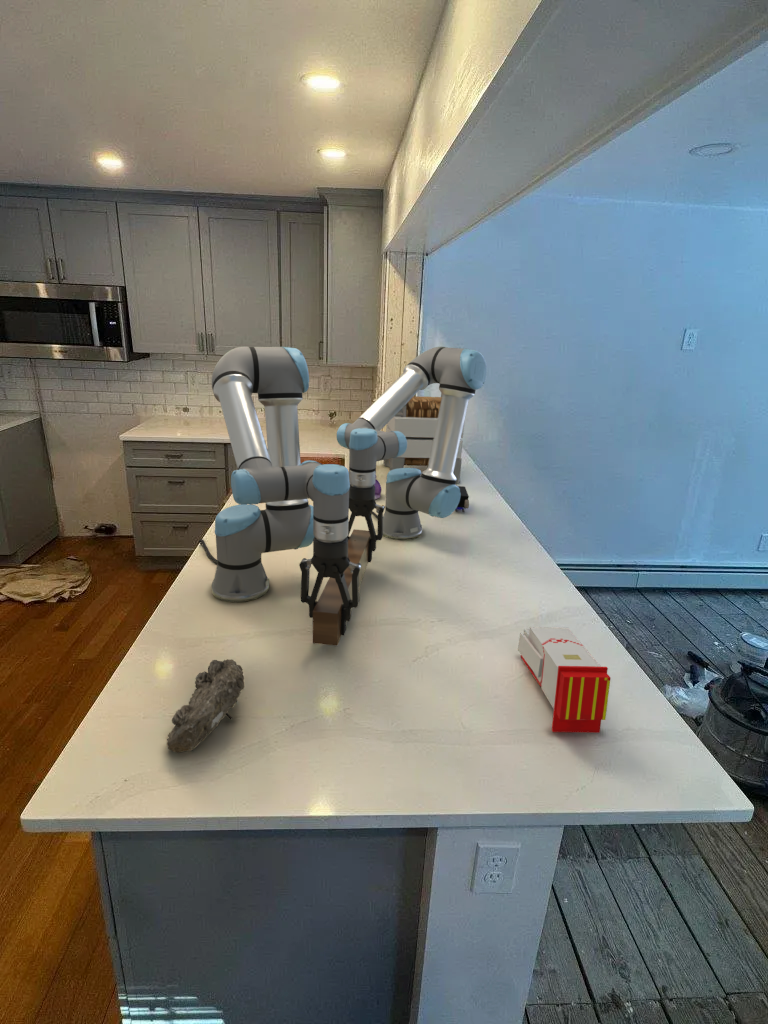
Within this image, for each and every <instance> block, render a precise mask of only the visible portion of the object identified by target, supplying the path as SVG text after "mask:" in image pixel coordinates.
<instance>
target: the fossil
mask: <svg viewBox="0 0 768 1024" xmlns="http://www.w3.org/2000/svg"><path fill="white" fill-rule="evenodd" d="M243 670H244V669H243V667H242V665H240V664H237V662H236V661H235V660H234V659H232V658H231V659H227V658H226V659H224V660H223V661H222V660H217V659H212V660H211V661H210V663H209V665H208V666H207V671H201V672H199V673H198V674H197V675H196V676H195V680H194V684H195V685H194V687H195V689H194V690H193V693H192V694H191V697H190V698H189V700H188V704H184V705H182V706H181V707H180V709H177V710H176V711H175V713H174V715H173V716H172V718H171V723H172V724H173V727H172V730H171V731H170V732H168V734H167V738H166V741H167V742H166V745H167V749H168V750H169V751H173V752H174V753H176V754H178V753H182V752H188V751H189V752H192V751H193V750H195V748H196V747H197V746H199V744H200V743H201V742H203V741H204V740H205V739H206V738H207V737H208V736H209V735H210V734H211V733H212V732H214V730H215V729H217V727H218V726H219V724H220V722H221V721H222V720H223V719H224V718H225V716H226V717H227V719H229V720H233V717H232V715H230V714H229V710H230V709H231V708H234V706H235V704H236V703H237V702H238V699H239V697H240V695H241V693H242V691H243V690H245V689H244V688H245V675H244V671H243Z"/></svg>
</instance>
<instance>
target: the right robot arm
mask: <svg viewBox="0 0 768 1024" xmlns="http://www.w3.org/2000/svg"><path fill="white" fill-rule="evenodd" d="M402 371H403V373H402V374H401V375H400V376H399V377H398V378H397V379H396V380H394V382H393V383H392V384H391V385H390V386H389V387H388V388H387V389H386V390H385V391H383V393H382V394H381V395H379V396H378V397H377V399H376V400H374V402H373V403H372V404H371V405H369V407H368V408H366V410H365V411H363V413H361V415H360V416H359V417H358V418H357V419H356V420H355V421H354V422H352V423H350V422H344V423H342V424H341V425H340V426H339V427H338V428H337V431H336V441H337V443H338V445H339V446H341V447H342V448H345V449H347V450H348V451H349V453H348V454H349V455H348V461H349V462H348V471H349V481H350V488H349V512H351V513H350V517H349V525H348V536H347V538H348V540H349V538H350V536H351V535H350V533H351V530H352V527H353V525H354V522H355V519H356V517H362V518H364V519H365V521H366V525H367V529H368V531H369V533H370V537H371V538H370V540H369V551H368V562H369V563H372V560H373V552H375V551H376V550H377V542H378V541H382V539H383V537H385V538H387V539H389V540H395V541H410V540H415V539H418V538H420V537H421V536H422V535H423V525H422V524H421V518H420V515H419V512H420V513H423V514H426V515H429V516H431V517H435V518H440V519H445V518H448V517H450V516H451V515H452V514H453V513H454V512H456V511H455V509H456V508H457V506H458V504H459V501H460V497H461V493H460V489H459V487H458V486H459V485H457V483H456V480H457V478H456V477H455V475H454V473H453V472H454V467H455V462H456V458H457V453H458V448H459V444H460V439H461V440H462V438H461V434H462V429H463V425H464V426H465V421H464V420H465V419H466V415H467V410H468V405H469V401H470V400H471V399H472V398H473V397H475V396H476V390H479V389H481V388H483V386H484V384H485V382H486V380H487V375H488V366H487V361H486V359H485V356H484V355H483V354H482V353H481V352H480V351H479V350H476V349H475V350H474V349H471V348H461V347H447V346H436V347H432V348H429V349H427V350H425V351H423V352H422V353H420V354H419V355H416V356H415V358H413V359H412V360H411V361H409V362H408V363H407V364H406V365H405V366H404V367H403V369H402ZM432 384H433V385H434V384H439V385H438V391H440V393H442V399H441V404H440V409H439V414H438V419H437V424H436V429H435V434H434V439H433V444H432V449H431V454H430V458H429V463H428V466H427V468H426V469H424V470H423V471H422V470H421V469H420V468H416V467H404V468H398V469H394V470H391V471H390V470H388V472H387V475H386V480H385V504H384V505H383V504H382V505H379V504H377V502H376V499H375V486H374V484H375V480H376V479H377V462H379V461H384V460H385V459H390V458H396V457H398V456H401V455H403V454H404V453H405V451H406V449H407V440H406V437H405V436H404V434H403V433H401V432H399V431H390V432H386V431H384V430H382V429H384V428H385V426H387V423H388V422H389V421H390V420H391V419H392V418H393V417H394V416H395V415H396V414H397V413H398V412H399V411H400V410H401V409H402V408H403V407H404V406H405V405H406V404H407V403H408V402H409V400H410V399H411V398H412V397H413V396H416V395H417V394H418V392H419V391H424V390H426V389H427V388H428V387H429V386H430V385H432ZM374 510H375V511H374ZM372 515H373V516H374V517H375V518H377V531H376V529H375V524H374V521H373V518H372ZM376 532H377V533H376ZM369 563H368V564H369Z"/></svg>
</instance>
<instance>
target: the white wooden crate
mask: <svg viewBox="0 0 768 1024" xmlns="http://www.w3.org/2000/svg"><path fill="white" fill-rule="evenodd" d="M440 393H441V392H440ZM441 399H442V393H441V394H440V396H416V395H414V396H413V397H412V398H411V399H410V400H409V402H408V403H407V404H406V405H405V406H404V407H403V408H402V409H401V410H400V411H399V412H398V413H397V414H396V415H395V416H394V417H393V418H392V419H391V420H390V421H389V422H388V423H387V424H386V425H385V426H386V428H385V432H390V431H399V432H401V433H403V434H404V436H405V437H406V440H407V449H406V451H405V453H404V454H403V455H401V456H398V457H396V458H390V459H385V460H383V466H384V467H388V468H389V471H391V470H394V469H398V468H405V466H406V467H407V466H411V467H412V466H413V467H415V466H416V467H417V466H418V467H428V463H429V458H430V454H431V449H432V444H433V439H434V434H435V429H436V424H437V419H438V414H439V409H440V404H441ZM464 422H465V420H464ZM464 429H465V424H464V425H463V429H462V434H461V439H460V444H459V448H458V453H457V458H456V462H455V467H454V472H453V473H454V475H455V477H456V478H457V480H456V484H459V483H461V472H462V461H463V460H462V453H463V442H464V441H463V440H462V439H463V438H464V431H465V430H464Z"/></svg>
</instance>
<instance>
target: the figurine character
mask: <svg viewBox="0 0 768 1024" xmlns="http://www.w3.org/2000/svg"><path fill="white" fill-rule="evenodd" d="M457 486H458V487H459V489H460V493H461V497H460V501H459V504H458V506H457V508H456V509H455V511H454V512H456V513H458V510H461V511H462V513H465V509H469V506H470V500H469V498H470V496H469V494H468V491H467V488H466V486H461V485H457Z"/></svg>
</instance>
